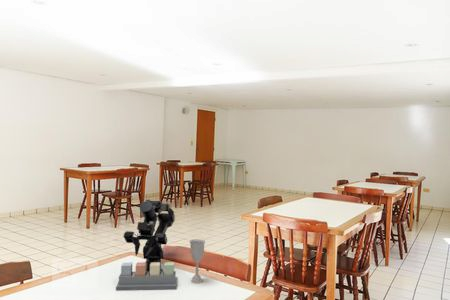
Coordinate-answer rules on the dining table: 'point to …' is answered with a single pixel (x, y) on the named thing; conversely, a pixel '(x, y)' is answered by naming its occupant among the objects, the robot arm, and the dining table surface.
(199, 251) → the chalice
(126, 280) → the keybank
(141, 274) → the peach rectangular block
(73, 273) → the dining table surface
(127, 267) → the key blue
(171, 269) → the key sage
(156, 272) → the block
